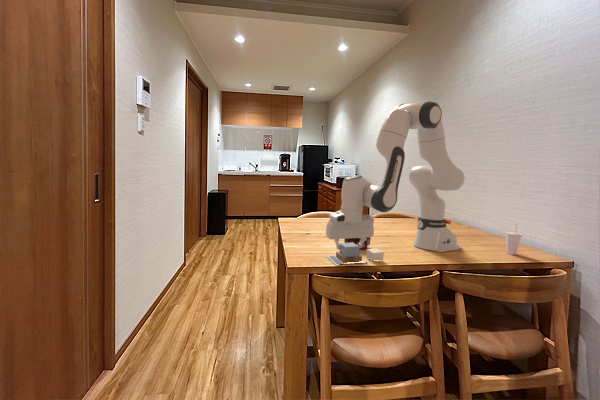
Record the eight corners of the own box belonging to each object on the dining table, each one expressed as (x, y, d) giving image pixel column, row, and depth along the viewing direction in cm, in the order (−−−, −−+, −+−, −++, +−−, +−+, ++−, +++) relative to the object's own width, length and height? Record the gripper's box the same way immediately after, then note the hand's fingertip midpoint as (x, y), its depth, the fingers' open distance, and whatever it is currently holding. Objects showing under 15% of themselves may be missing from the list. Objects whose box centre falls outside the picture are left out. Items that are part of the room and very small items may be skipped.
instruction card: (355, 254, 140) (355, 253, 140) (367, 263, 129) (367, 262, 129) (325, 256, 136) (325, 255, 136) (335, 265, 126) (335, 264, 125)
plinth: (353, 255, 138) (353, 250, 138) (361, 261, 130) (362, 256, 130) (335, 256, 136) (336, 251, 135) (343, 262, 128) (343, 258, 128)
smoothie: (514, 256, 144) (518, 226, 142) (499, 252, 150) (503, 223, 147) (522, 254, 147) (526, 225, 145) (508, 250, 153) (512, 222, 150)
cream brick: (376, 257, 137) (376, 248, 137) (383, 261, 133) (383, 252, 132) (366, 258, 136) (366, 249, 135) (372, 262, 131) (373, 253, 130)
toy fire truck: (371, 250, 147) (372, 228, 145) (344, 249, 147) (345, 227, 145) (368, 245, 154) (369, 224, 152) (342, 244, 154) (343, 223, 152)
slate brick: (352, 251, 136) (353, 242, 136) (358, 256, 131) (359, 246, 130) (339, 252, 135) (340, 243, 134) (345, 257, 129) (345, 247, 128)
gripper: (370, 213, 136) (368, 244, 138) (325, 214, 130) (323, 247, 132) (377, 216, 130) (375, 249, 132) (330, 217, 124) (329, 252, 126)
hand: (349, 248), depth 132 cm, fingers open, 8 cm apart
